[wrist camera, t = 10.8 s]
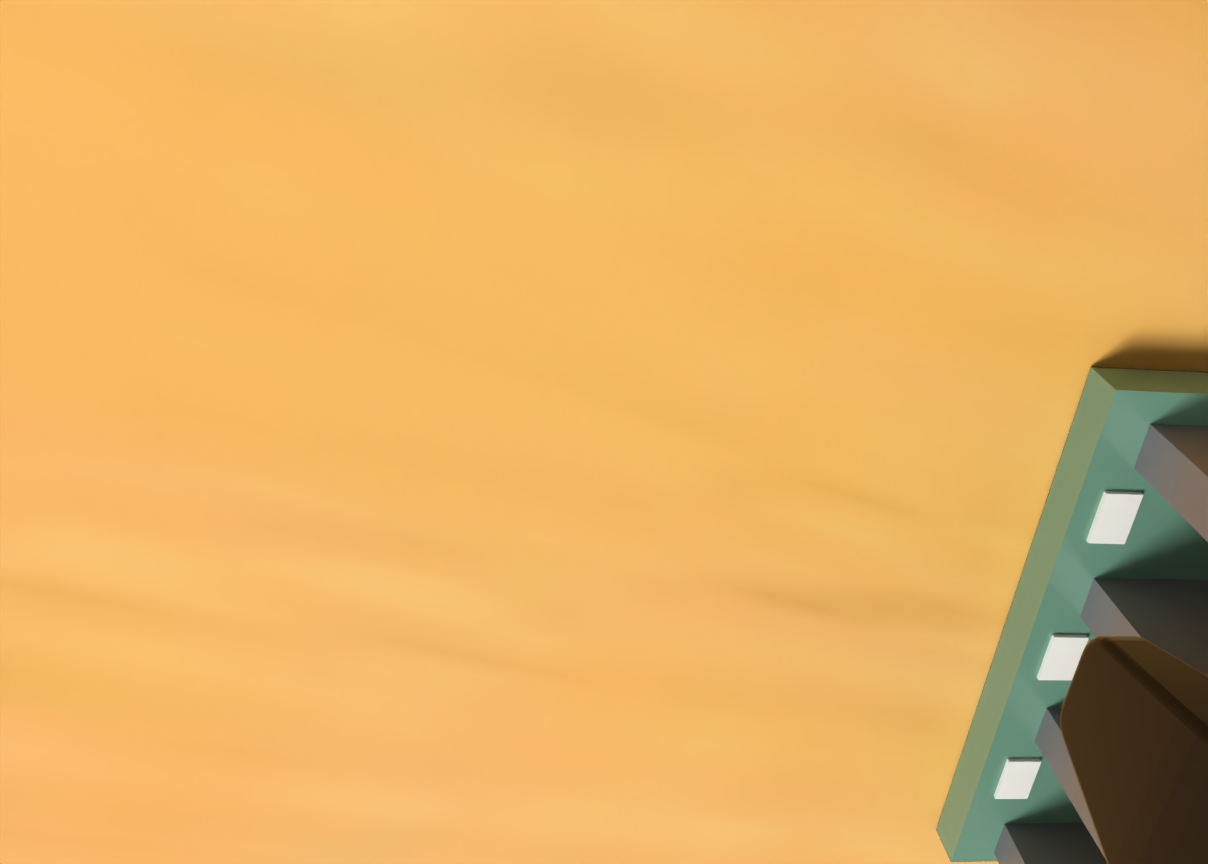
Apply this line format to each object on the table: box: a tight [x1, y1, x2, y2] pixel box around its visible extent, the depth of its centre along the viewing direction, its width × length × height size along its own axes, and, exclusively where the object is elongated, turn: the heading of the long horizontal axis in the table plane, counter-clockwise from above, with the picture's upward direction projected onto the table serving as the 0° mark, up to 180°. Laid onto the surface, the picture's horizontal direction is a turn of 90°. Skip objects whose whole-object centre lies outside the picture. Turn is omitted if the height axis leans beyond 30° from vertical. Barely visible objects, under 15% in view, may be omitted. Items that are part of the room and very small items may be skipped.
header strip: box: [936, 367, 1208, 862], centre depth 24 cm, size 13×7×4 cm, turn 175°
